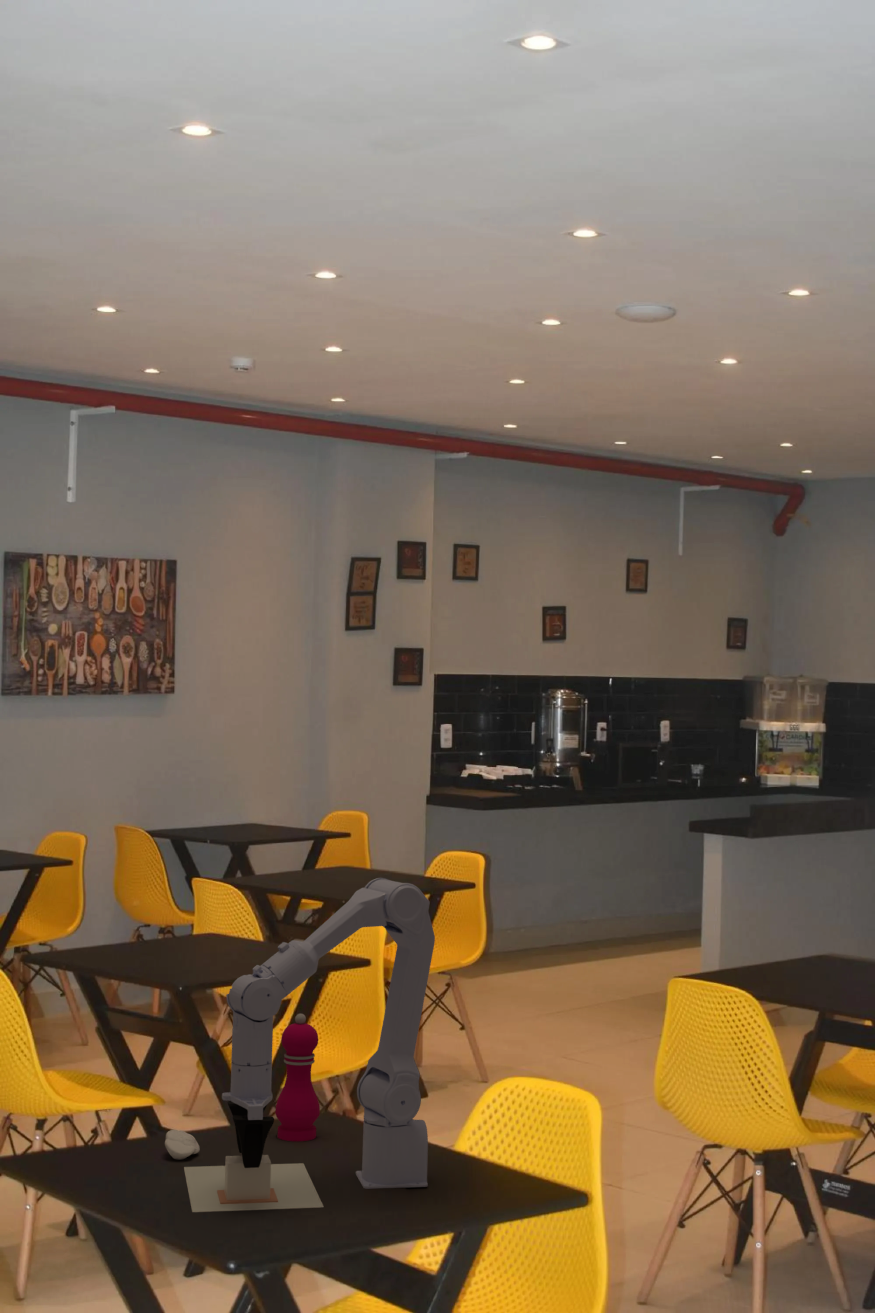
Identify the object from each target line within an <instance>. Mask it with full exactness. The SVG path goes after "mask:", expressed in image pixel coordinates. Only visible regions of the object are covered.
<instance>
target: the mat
mask: <svg viewBox="0 0 875 1313" xmlns="http://www.w3.org/2000/svg"><path fill="white" fill-rule="evenodd" d="M183 1170H184V1176H185V1181H186V1186H187V1191H188V1197H189V1202H190V1206H191V1207H190V1208H191V1212H192V1213H210V1212H232V1211H233V1212H237V1211H262V1210H289V1209H290V1210H291V1209H292V1210H293V1209H312V1208H313V1209H315V1208H316V1209H317V1208H324V1204H323V1202H322V1201H321V1200H322V1199H321V1198H320V1196H319V1194H318V1192H317V1190H316V1187H315V1185H314V1183H313V1181H312V1179H311V1177H310V1174H309V1173H308V1170H307V1168H306V1166H305V1164H304V1162H302V1163H300V1162H299V1163H271V1180H270V1188H274V1191H275V1194H276V1196H277V1199H278V1202H267V1203H240V1204H220V1201H219V1197H218V1193H217V1190H224V1188H225V1165H210V1166H209V1165H208V1166H207V1165H205V1166H184V1167H183Z"/></svg>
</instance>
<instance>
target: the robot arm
mask: <svg viewBox="0 0 875 1313" xmlns="http://www.w3.org/2000/svg"><path fill="white" fill-rule="evenodd" d="M430 903H431V902H430V900H429V899H428V898H427V897H426V895H425V894H424V893H423V892H422V890H421V889H420V888H419V887H418V886H416V885H415V884H413V883H409V882H400V881H396V880H395V881H394V880H390V879H388V878H385V877H377V878H375V879H372V880H370V881H368V882H367V884H365V885H364V887H361V888H359V889H357V890H356V891H355V892H354V893H353V895H352V896H351V897H350V898H349V900H348V901H346V902H345V903H344V905H342V906H341V907H340V908H339V909H337V911H336V912H335V913H333V914H332V915H331V916H330V917H329V918H328V919H327V920H326V921H324V923H322V924H321V925H320V926H319V927H318V928H317V929H316V930H314V931H313V932H312V933H311V934H310V935H309V936H308V937H307V938H305V940H303V941H301V940H293V939H292V940H290V941H289V942H285V941H282V942H281V943H280V944H279V945H278V946H277V949H278V951H277V952H276V953H274V954H273V955H272V956H271V957H269V958H268V959H267V960H266V961H265V962H263V963H262V964H260V965H259V964H256V965H255V966H254V967H253V968H252V974H243V975H241V976H240V977H237V979H235V980H234V981H233V982H232V984H231V988H230V989H229V990H228V991H229V992H228V993H227V994H226V997H225V998H226V1002H227V1005H228V1007H229V1009H230V1010H231V1011H232V1030H231V1063H230V1064H231V1066H230V1067H231V1068H230V1072H231V1073H230V1091H229V1092H223V1093H221V1099H222V1100H223V1101H227V1106H228V1107H229V1110H230V1112H231V1115H232V1120H233V1123H234V1129H235V1136H236V1143H237V1148H238V1153H239V1154H241V1156H242V1160H243V1164H244V1168H259V1166H260V1163H261V1159H262V1155H264V1150H265V1149H264V1148H265V1144H266V1140H267V1137H268V1135H269V1132H270V1130H271V1128H272V1126H273V1125H274V1122H275V1117H274V1116H264V1112H265V1110H266V1109H267V1106H268V1104H269V1103H270V1102H271V1101H272V1100H273V1092H272V1078H273V1077H272V1076H273V1075H272V1073H273V1070H272V1068H273V1036H274V1035H273V1034H274V1028H273V1025H274V1023H273V1022H274V1016H276V1015H277V1014H278V1012H279V1010H280V1008H281V1006H282V1001H283V999H285V998H286V997H287V996H288V995H290V994H291V993H292V992H294V991H295V990H296V989H297V988H298V987H299V986H301V985H302V984H303V983H304V982H306V981H307V980H308V979H309V978H311V977H312V976H313V975H314V974H315V973H317V970H318V966H319V960H320V959H321V958H322V957H324V956H325V955H326V954H328V953H329V952H330V951H332V950H334V948H335V947H337V946H338V945H340V944H342V942H344V941H346V939H348V938H349V937H351V936H352V935H353V934H355V933H356V932H358V931H359V930H360V929H362V928H372V927H373V928H375V927H382V928H384V929H385V930H386V931H387V933H388V934H389V937H391V938H392V939H393V941H394V943H395V944H396V951H395V957H394V962H393V967H392V974H391V979H390V983H389V989H388V993H387V999H386V1005H385V1010H384V1015H383V1020H382V1026H381V1031H380V1037H379V1042H378V1048H377V1050H376V1052H375V1053H373V1055H372V1056H371V1057H369V1059H368V1061H367V1065H366V1069H365V1071H364V1073H363V1075H362V1076H361V1078H360V1079H359V1081H358V1084H357V1088H356V1095H357V1096H356V1097H357V1100H358V1102H359V1104H360V1106H362V1107H363V1108H364V1109H363V1126H362V1128H363V1130H362V1131H363V1132H362V1134H363V1135H362V1161H361V1162H362V1164H361V1170H356V1171H355V1176H356V1177H357V1178H358V1181H359V1182H360V1184H361V1187H363V1189H366V1190H368V1189H395V1188H396V1189H397V1188H405V1189H407V1188H426V1187H428V1186H429V1185H428V1184H429V1182H428V1155H429V1152H428V1150H429V1140H428V1139H429V1138H428V1136H429V1135H428V1128H427V1123H426V1122H425V1120H423V1119H414V1118H415V1117H416V1116H417V1115H418V1112H419V1110H420V1108H421V1105H422V1098H421V1097H422V1096H421V1092H420V1087H419V1086H420V1085H419V1083H420V1078H421V1077H420V1076H421V1074H420V1071H419V1069H418V1066H417V1063H416V1061H415V1058H414V1055H415V1052H416V1044H417V1041H418V1034H419V1028H420V1023H421V1018H422V1012H423V1008H424V1001H425V997H426V996H425V995H426V991H427V986H428V985H427V984H428V980H429V975H430V974H429V973H430V971H431V970H430V968H431V964H432V959H433V953H434V948H435V947H434V946H435V943H436V942H435V941H436V936H435V931H434V928H433V923H432V921H431V916H430V913H429V909H430Z"/></svg>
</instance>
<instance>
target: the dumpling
mask: <svg viewBox="0 0 875 1313" xmlns="http://www.w3.org/2000/svg"><path fill="white" fill-rule="evenodd" d="M164 1146H165V1149H166V1150H167V1152H168V1154H169V1155H170V1156H171V1157H172V1159H174V1160H179V1161H180V1160H181V1161H182V1160H184V1159H187V1157H190V1156H191V1155H195V1154H198V1153H199V1152H200V1151H201V1150H200V1148H201V1147H200V1145H199V1143H198V1141H197V1140H196V1138H195V1137H194V1136H193V1135H192V1134H190V1133H188V1132H186V1131H184V1130H178V1129H171V1130H169V1131H167V1132H166V1133H165V1141H164Z"/></svg>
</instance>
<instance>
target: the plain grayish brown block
mask: <svg viewBox="0 0 875 1313" xmlns="http://www.w3.org/2000/svg"><path fill="white" fill-rule="evenodd" d="M224 1161H225V1162H224V1163H225V1165H224V1166H225V1188H224V1192H225V1196H226V1199H227V1200H249V1199H270V1180H271V1164H272V1161H271V1159H270V1156H269V1154H262V1159H261V1163H260V1166H259V1168H244V1164H243V1160H242V1155H225V1160H224Z"/></svg>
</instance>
